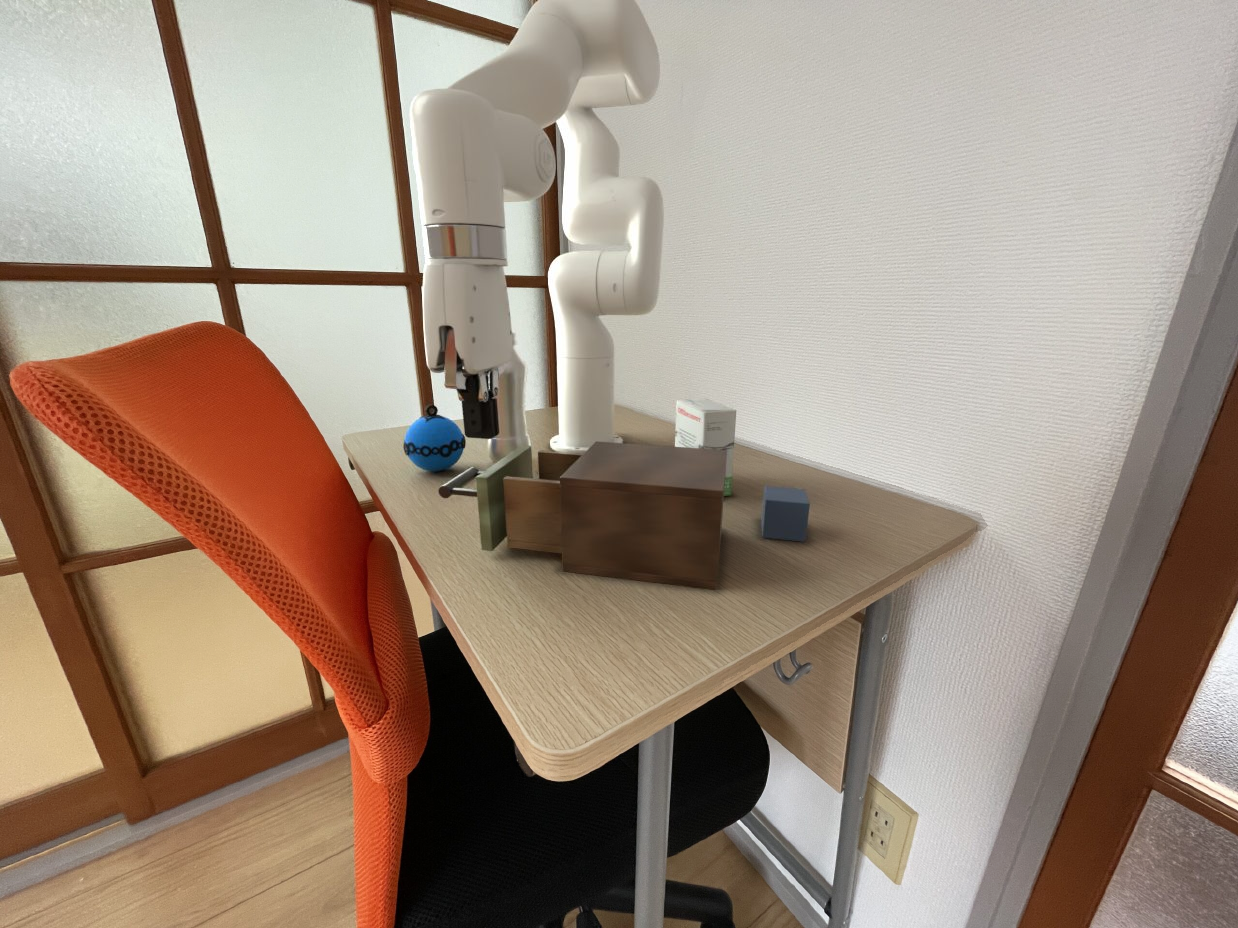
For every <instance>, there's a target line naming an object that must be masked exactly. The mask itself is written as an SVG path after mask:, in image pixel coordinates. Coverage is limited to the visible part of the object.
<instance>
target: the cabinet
mask: <svg viewBox="0 0 1238 928" xmlns="http://www.w3.org/2000/svg"><path fill="white" fill-rule="evenodd" d="M726 462H727V450H716V449H701V448H686V447H675V446H671V445H657V444H656V445H655V444H654V445H653V444H643V443H642V444H639V443H628V442H627V443H626V442H625V443H624V442H623V443H612V442H597V441H596V442H595V443H594V444H593V445H592V446H591V447H590V448H589V449H588V450H587V451H586V452H585V453H584V454H583V455H582V456H581V457H580V458H579V459H578V460H577V461H576V462H575V463H574V464H573V465H572V466H571V467H570V468H569V469H568V470H567V471H566V472H565V473H564V474H563V475H562V476H561V477H560V503H561V537H562V553H561V563H562V565H561V566H562V568H561V569H562V572H567V573H576V574H584V575H591V576H592V575H593V576H599V577H608V578H609V577H610V578H617V579H624V580H633V581H640V582H641V581H642V582H650V583H658V584H667V585H675V586H682V587H691V588H699V589H707V590H715V591H716V590H717V582H718V573H719V562H720V550H721V540H722V529H723V517H724V516H723V515H724V514H723V513H724V501H725V496H724V489H725V476H726Z"/></svg>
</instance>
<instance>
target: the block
mask: <svg viewBox="0 0 1238 928" xmlns="http://www.w3.org/2000/svg"><path fill="white" fill-rule="evenodd" d="M763 488H764V489H763V497H762V509H761V518H760V523H761V525H760V526H761V535H762V536H761V537H762V539H773V540H783V541H791V542H793V541H794V542H802V543H805V542H806V539H807V537H806V536H807V530H808V523H809V513H810V505H811V502H810V500H809V496H808V493H807V490H806V489H805V488H795V487H794V488H793V487H784V486H783V487H782V486H770V485H765V486H764V487H763Z"/></svg>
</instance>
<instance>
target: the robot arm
mask: <svg viewBox="0 0 1238 928" xmlns="http://www.w3.org/2000/svg"><path fill="white" fill-rule="evenodd" d="M660 76H661V63H660V55H659V49H658V46H657V43H656V40H655V37H654V35H653V32H652V31H651V28H650V27H649V24H648V22H647V21H646V18H645V16H644V13H643V12H642V10H641V8H640V6H639V5H638V3H637V2H636V0H537V1H535V2H534V4H533V5H531V7H530V9H529V11H528V12H527V14H526V15H525V17H524V19H523V20H522V23H521V24H520V26H519V27H518V30H517V32H516V34H515V35H514V36H513V39H511V41H510V43H509V45H508V46H507V48H506V50H505V51H504V52H503V53H501V54H499V55H497V56H495V57H492V58H491V59H490V60H488V61H486V62H485V63H483V64H482V65H480V66H479V67H477V68H476V69H475V70H473V71H471V72H469V73H468V74H466V75H464V76H462V77H461V78H459V79H458V80H456V81H455V82H453V83H452V84H450V85H449V86H447V88H433V89H428V90H425V91H422V92H420V93H418V94H417V95H416V96H414V98H413V100H412V101H411V104H410V108H409V121H410V131H411V139H412V160H413V167H414V171H415V176H416V185H417V191H418V192H417V195H418V202H419V212H420V221H421V227H422V228H421V229H422V238H423V247H424V255H425V256H424V258H425V264H424V267H423V274H422V275H423V276H422V278H423V279H422V322H423V323H422V324H423V338H424V350H425V359H426V366H427V368H428V369H429V371H430V372H432V373H435V374H441V373H443V385H444V388H445V389H450V390H456V393H457V398H458V400H459V401H460V402H461V411H462V421H463V430H464V431H463V433H464V436H465V438H468V439H481V440H483V439H484V440H488V439H492V438H493V437H494V436H497V435H498V434H499V420H498V407H497V398H496V397H497V396H498V378H499V376H500V375H501V374H502V373H503V372H504V370H505V366H504V364H506V363H507V362H508V361H509V360H510V359H511V357H512V331H513V330H512V329H513V328H512V318H511V310H510V308H511V307H510V299H509V293H508V287H507V280H506V274H505V269H504V267H509V264H508V263H509V262H508V249H507V248H508V246H507V232H506V230H507V229H506V217H505V216H506V214H505V213H506V212H505V203H518V202H520V203H521V202H531V201H534V200H536V199H539V198H541V197H543V196H544V195H545V194H546V193H547V192H548V191H549V190H550V188H551V186H552V185H553V183H554V180H555V176H556V169H557V168H556V167H557V165H556V155H555V150H554V147H553V145H552V142H551V140H550V137H548V134H547V133H546V132H545V131H544V129H545V128H547V127H549V126H551V125H553V124H555V123H556V124H557V126H558V129H559V131H560V135H561V138H562V141H563V145H564V146H563V147H564V175H563V176H564V177H563V192H562V211H561V213H562V214H561V215H562V216H561V217H562V219H561V220H562V229H563V233H564V235H565V237H566V238H567V240H569V241H570V242H572V243H574V244H577V245H582V246H629V247H630V250H577V251H576V250H575V251H569V252H565V253H562V254H560V255H558V256H557V257H555V259H553V261H552V262H551V264H550V266H549V269H548V272H547V278H548V279H547V281H548V283H547V284H548V290H549V296H550V300H551V306H552V312H553V318H554V327H555V328H554V329H555V342H556V343H555V344H556V374H557V375H556V378H557V380H556V381H557V407H558V409H557V410H558V434H556V435H555V436H553V437H551V438H550V441H549V444H550V445H549V446H550V448H551V450H552V451H559V452H573V453H585V452H586V451H587V450H588V449H589V448H590V447H591V446H592V445H593V444H594V443H595V442H596V441H597V442H612V443H624V440H623V437H621V436H620V435H618V434H615V344H614V343H615V342H614V340H613V337H612V334H611V333H610V331H609V329H608V328H607V327H606V325H605V323H604V322H603V321H602V320H601V318H600V316H644V315H647V314H650V313H651V312H652V311H654V308H655V307H656V306H657V303H658V299H659V294H660V284H661V283H660V282H661V270H662V269H661V267H662V254H663V252H662V251H663V239H664V238H663V237H664V220H665V218H664V217H665V209H664V208H665V207H664V199H663V194H662V191H661V188H660V186H659V185H658V183H657V182H656V181H655V180H653V179H652V178H650V177H646V176H620V175H619V174H620V158H621V151H620V146H619V143H618V141H617V139H616V138H615V136H614V135H613V133H612V132H611V130H610V129H609V127H608V126H607V125H606V124H605V123H604V121H602V119H600V118H599V116H598V115H597V114H596V113H595V112H594V111H595V110H593V109H601V108H615V107H626V106H629V107H630V106H637V105H643V104H646V103H649V102H650V101H651V100H652V99H653V98H654V96H655V95H656V93H657V91H658V87H659V83H660V78H661V77H660ZM619 176H620V177H619Z"/></svg>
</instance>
